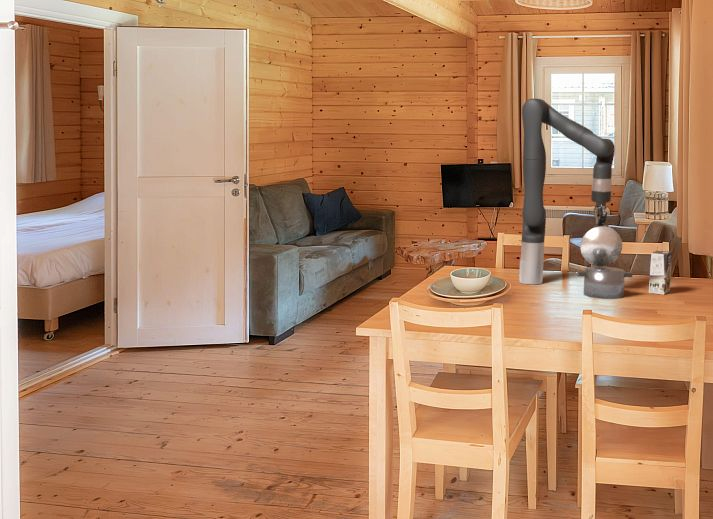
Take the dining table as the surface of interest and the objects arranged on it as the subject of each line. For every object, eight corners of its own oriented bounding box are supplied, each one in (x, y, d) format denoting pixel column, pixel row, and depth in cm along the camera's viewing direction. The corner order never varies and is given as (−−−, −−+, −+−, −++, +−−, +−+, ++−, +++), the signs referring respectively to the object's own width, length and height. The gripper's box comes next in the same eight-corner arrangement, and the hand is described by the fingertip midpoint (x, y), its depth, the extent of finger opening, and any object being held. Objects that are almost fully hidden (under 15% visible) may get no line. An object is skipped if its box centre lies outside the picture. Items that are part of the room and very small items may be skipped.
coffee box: (664, 294, 357) (667, 254, 354) (648, 293, 360) (650, 252, 358) (670, 291, 364) (673, 251, 362) (653, 289, 368) (656, 249, 365)
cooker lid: (582, 226, 357) (580, 224, 360) (579, 265, 361) (577, 263, 364) (623, 227, 356) (621, 225, 360) (620, 266, 361) (618, 264, 364)
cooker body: (580, 298, 348) (582, 272, 346) (571, 289, 365) (572, 265, 363) (635, 299, 347) (636, 273, 346) (623, 290, 364) (624, 266, 363)
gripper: (588, 188, 367) (586, 230, 370) (596, 191, 354) (593, 235, 357) (606, 188, 367) (604, 231, 370) (615, 191, 354) (613, 235, 357)
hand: (599, 233), depth 363 cm, fingers closed
